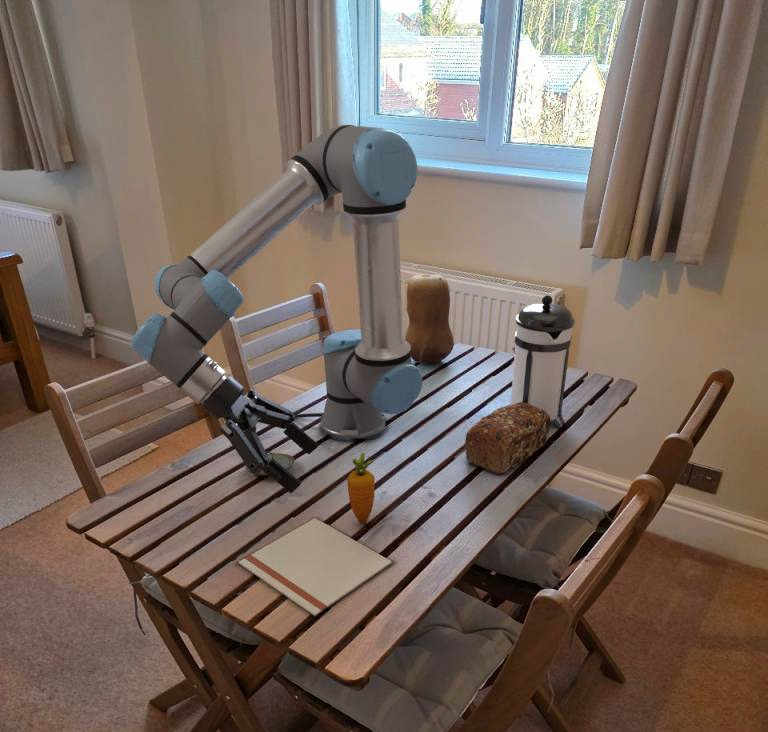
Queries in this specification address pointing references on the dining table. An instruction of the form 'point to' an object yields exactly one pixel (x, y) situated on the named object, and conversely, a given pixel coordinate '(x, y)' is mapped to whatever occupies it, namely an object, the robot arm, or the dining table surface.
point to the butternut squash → (428, 319)
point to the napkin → (315, 565)
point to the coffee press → (542, 356)
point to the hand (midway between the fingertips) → (305, 468)
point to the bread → (507, 436)
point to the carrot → (361, 489)
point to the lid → (281, 458)
